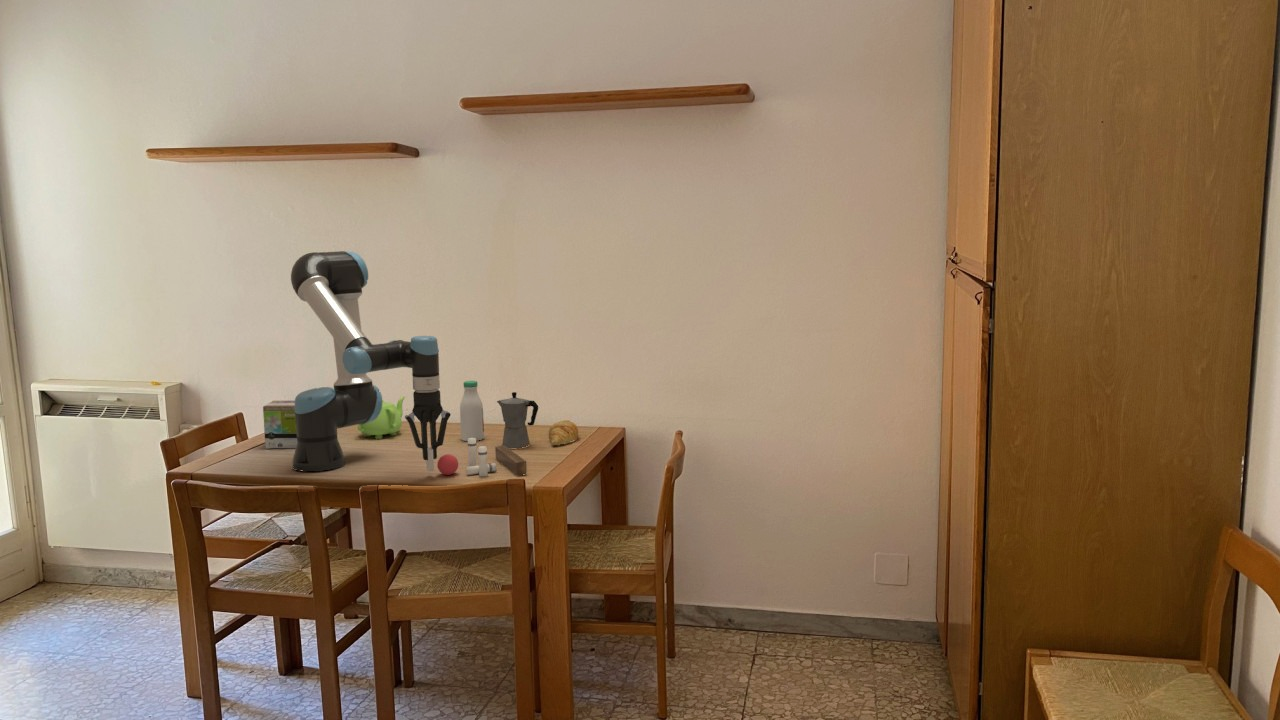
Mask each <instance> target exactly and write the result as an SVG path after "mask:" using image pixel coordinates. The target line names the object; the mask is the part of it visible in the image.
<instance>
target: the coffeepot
mask: <svg viewBox="0 0 1280 720" xmlns="http://www.w3.org/2000/svg"><path fill="white" fill-rule="evenodd" d="M517 393H518V392H515V391H513V392H511V396H512V397H510V398H505V399H499V400H497V401H496V403H497V404H499V406H500V409H501V414H502V420H503V422H504V430H503V437H502V444H501V446H506V447H507V448H522V447H526V446H528V445H529V446H530V444H531V443H530V438H529V434H528V428H527V426H526V422H527V416H528V408H529V407H532V413H531V417H530V422H527V425H528V426H533V425H535V421H536V417H537V416H538V415H537V414H538V411H539V405H538V404H537V402H536V401H535V400H529V399H525V398H520V397H517ZM526 448H527V447H526ZM522 449H523V448H522Z"/></svg>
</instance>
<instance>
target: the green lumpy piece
mask: <svg viewBox="0 0 1280 720" xmlns="http://www.w3.org/2000/svg"><path fill="white" fill-rule="evenodd" d="M405 398H406V396H402V397H400V398H399V399H398V400H397V402H396V403H397V404H396V405H395V403H392V402H391V403H390V402H384V399H382V409H381V412H380V414H379V415H378V417H377V418H376V419H375V420H374V421H371V422H368V423H365V424H358V425H357V430H358V431H359V432H361V433H362V434H364V437H365V436H370V437H372V436H374V439H375V438H376V439H375V440H381V438H382V439H383V438H384V437H383V435H387V434H389V436H390V435H396V436H397V435H398V433H397V432H398V431H400V429H401V427H402V426H403V422H402V416H403V411H404V410H403V403H404V400H405Z"/></svg>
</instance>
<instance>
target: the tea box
mask: <svg viewBox="0 0 1280 720" xmlns="http://www.w3.org/2000/svg"><path fill="white" fill-rule="evenodd" d="M294 408H295V400H272V401H271V402H269V403H267V404H266V405H263V406H262V412H263V413H262V414H263V429H264V431H263V432H264V443H265V449H267V450H268V449H296V446H297V432H296V418H295V411H294Z"/></svg>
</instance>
